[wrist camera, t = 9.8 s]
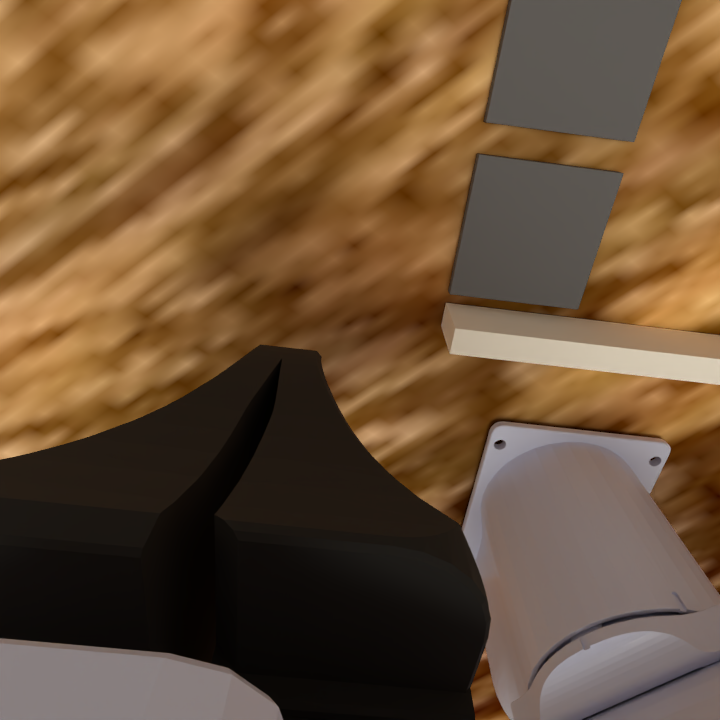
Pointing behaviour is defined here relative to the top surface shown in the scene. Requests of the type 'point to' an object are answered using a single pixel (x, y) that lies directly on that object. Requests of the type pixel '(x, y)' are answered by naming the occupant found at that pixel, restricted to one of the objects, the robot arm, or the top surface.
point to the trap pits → (560, 114)
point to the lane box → (581, 343)
